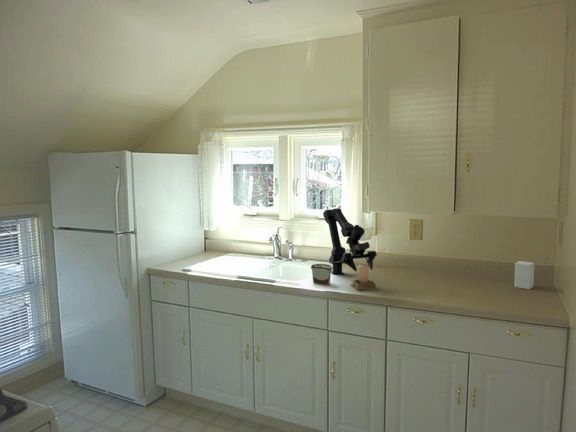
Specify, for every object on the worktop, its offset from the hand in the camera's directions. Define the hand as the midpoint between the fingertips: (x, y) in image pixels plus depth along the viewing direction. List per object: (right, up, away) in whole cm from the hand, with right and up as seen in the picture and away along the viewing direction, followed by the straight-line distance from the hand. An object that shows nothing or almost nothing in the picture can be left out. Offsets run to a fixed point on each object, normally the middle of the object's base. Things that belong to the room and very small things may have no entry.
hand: (364, 270), depth 227 cm
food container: (-20, -8, +10) cm, 24 cm away
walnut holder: (0, -9, +1) cm, 9 cm away
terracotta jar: (0, -8, +1) cm, 8 cm away
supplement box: (+82, -8, -2) cm, 83 cm away
